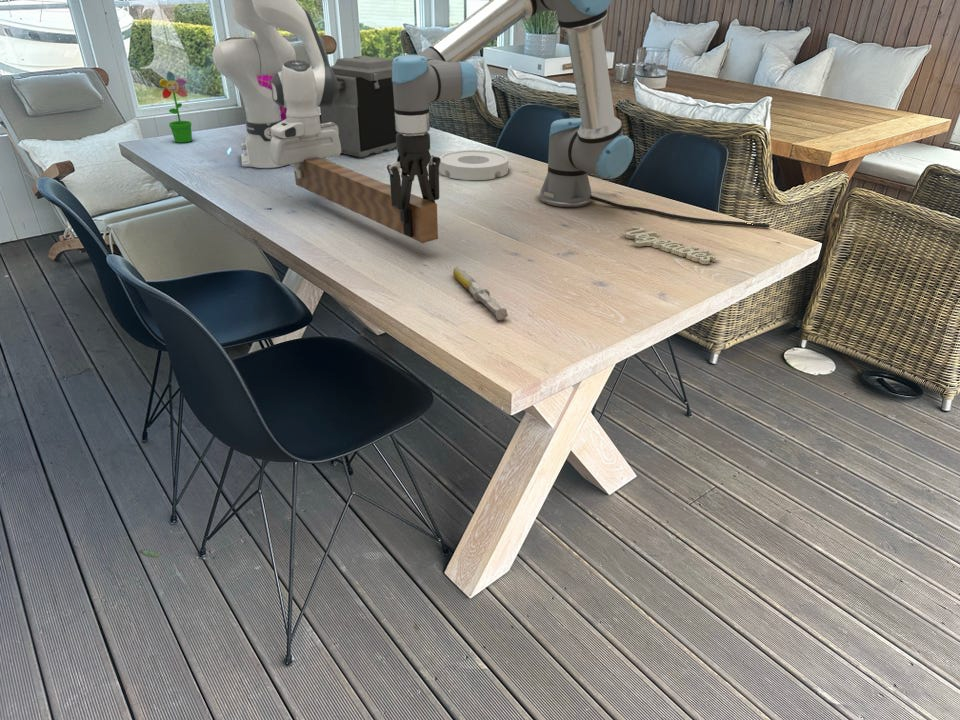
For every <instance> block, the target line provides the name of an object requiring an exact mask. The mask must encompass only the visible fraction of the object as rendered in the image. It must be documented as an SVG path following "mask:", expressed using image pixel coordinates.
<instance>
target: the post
mask: <svg viewBox="0 0 960 720" xmlns="http://www.w3.org/2000/svg"><path fill="white" fill-rule="evenodd" d="M298 168H299V170H300V171H303V172H304V178H301V179H299V178H297V175H296V171H295V170H294V169H293V172H294V179H295V186H298V187H300V188H303V189H304V190H307V191H309V192H311V193H313V194H316V195H317V196H319V197H321V198H324V199H326V200H328V201H330V202H333V203H335V204H336V205H339V206H341V207H344V208H345V209H347V210H350V211H352V212H354V213H356V214H358V215H361V216H362V217H365V218H367V219H368V220H371V221H372V222H375V223H377V224H380V225H381V226H384V227H387V228H389V229H391V230H393V231H394V232H397V233H399V234H401V235H403V236H405V235H404V229H403V223H402V222H401V220H400V210H399V209H397V208H394V207H392V201H391V187H390V184H388V183H386V182H383V181H380V180H377V179H375V178H372V177H370V176H367V175H365V174H362V173H360V172H358V171H355V170H352V169H350V168H346V167H344V166H342V165H340V164H337V163H334V162H331V161H329V160H326V159H325V160H324V159H321V158H319V157H316V158H311V159H306V160H304V162H300V163H299V167H298ZM409 209H411V210H412V225H413V237H411V238H410V239H413V240H414V241H417V242H419V243H421V244H425V243H429V242H432V241H435V240H438V239H439V229H438V228H439V226H438V224H439V223H438V222H439V221H438V204H437V203H436V202H435V203H433V202H431V201H428V200H426V199H423V197H422V196H419V195H416V194H413V193H411V195H410V203H409Z"/></svg>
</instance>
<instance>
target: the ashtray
mask: <svg viewBox="0 0 960 720" xmlns="http://www.w3.org/2000/svg"><path fill="white" fill-rule="evenodd" d="M438 157H439V158H440V159H441V161H440V165H439V174H440V175H442V176H445V177H450V179H456V180H461V181H487V180H492V179H493V180H494V179H495V178H496V177H497V178H498V177H499V178H501V177H504V176H505V175H507V174H508V172H509V157H508V156H507V155H505V154H503V153H501V152H497V151H492V150H484V149H462V150H454V151H449V152H445V153H442V154H440V156H438Z"/></svg>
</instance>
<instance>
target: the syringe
mask: <svg viewBox="0 0 960 720" xmlns="http://www.w3.org/2000/svg"><path fill="white" fill-rule="evenodd" d="M452 274H453V277H454V279H455V280H457V281H458V282H459V283H460V285H462V287H464V289H466V290H467V291H468V293H470V295H471V296H472V298H473V300H474V302H477V303H478V302H480V303H482V304H483V305H484V306H485V307H486V308H487V309H488V310H489V311H490V312H491V313H492V314H493V315H494V316H495V317H496V320H497V321H503V320H504V319H506V318H507V317H509V314H508V310H507V308H506V307H502V306H501V305H500V303H498V302H497V301H496V300H494V299H493V298H492V297H491V296H490V295H491V293H490V290H488V289H486V288H483V287H482V286H481V285H480V284H479V283H478V282H477V281H476V280H474V278H473V277H471V275H469V274H468V273H467V272H466V270H465V269H464V268H463V267H462V266H456V267H454V268H453V271H452Z"/></svg>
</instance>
